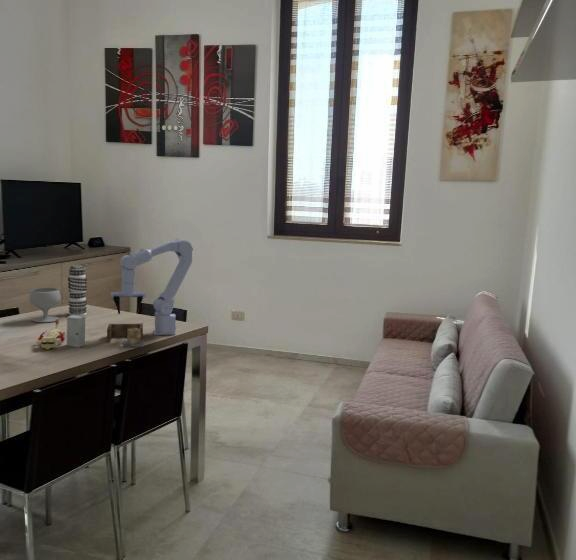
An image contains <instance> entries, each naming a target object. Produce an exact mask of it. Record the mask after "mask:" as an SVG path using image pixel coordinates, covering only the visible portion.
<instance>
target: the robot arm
mask: <svg viewBox="0 0 576 560" xmlns="http://www.w3.org/2000/svg"><path fill="white" fill-rule="evenodd" d="M193 250H194V248H193V246H192V243H191V242H190V241H188V240H187V239H186V240H185V239H181V238H176V239H172V240H169V241H167V242H165V243H162V244H160V245H158V246H155V247H152V248H151V249H148V248H142V247H141V248H139V250H138V251H135V252H130V253H129V255H128V254H125V255H123V256H122V257H120V260H119V265H120V267H121V273H120V274H121V275H120V276H121V278H120V279H121V289H120V291H115V292H113V291H112V292H110V298H111V299H112V298H113V302H114V303H115V306H116V309H117V314H118V315H120V314H121V305H120V304H121V298H136V312H135V313H136V315H137V314H139V310H140V307H141V304H142V302H143V299H144V298H146V291H145V292H143V291H141V292H140V291H139V292H138V291H136V270H135V269H136V268H137V266H140V265H142V264H145V263H148V262H150V261H151V260H152V258H153V257H156V256H158V255H162V254H164V253H167V252H174V253H175V254H176V256H177V258H178V260H179V261H178V263H177V266H176V267H175V269H174V271H173V273H172V275H171V277H170V279H169V281H168V282H167V285H166V286H165V289H164V290H163V292H161V293H160V294H159V296H158V297H157V298H156V299H155V300H153V303H152V305H153V309H154V310H155V311H154V329H153V335H154V336H158V335H159V336H160V335H161V336H163V335H165V336H167V335H176V330H177V326H176V314H175V313H172V312H173V309H174V304H175V302H176V301H175V296H176V294H177V292H178V290H179V289H180V286H181V284H182V283H183V282H184V279H185V277H186V275H187V274H188V271H189V270H190V267H191V265H192V263H193Z"/></svg>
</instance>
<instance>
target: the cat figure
mask: <svg viewBox="0 0 576 560" xmlns="http://www.w3.org/2000/svg"><path fill="white" fill-rule="evenodd" d="M59 320H60V319H59ZM59 320H58V319H56V321H55V328H54V329H53V328H52V329H51V330H50V331H49V333H48V332H47V330H45V331H43V332H42V333H40V334H39V335H40V336H39V337H38V338H37V341H36V344H37V345H40V348H42V349H43V348H44V349H45V350H50V349H52V348H55V347H57V348H58V346H59V345H61V344H62V343H64V341H66V338H65V336H64V335H65V331H64V329H59V323H60V322H59ZM45 333H48V334H47V335H46V336H44V335H45ZM58 337H59V338H60V339H57V338H58ZM57 344H58V345H57Z"/></svg>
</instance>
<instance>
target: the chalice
mask: <svg viewBox="0 0 576 560" xmlns="http://www.w3.org/2000/svg"><path fill="white" fill-rule="evenodd" d="M61 298H62V297H61V293H60V290H59V289H58V288H56V287H37V288H33V289H31V291H30V293H29V297H28V300H29V301H28V302H29V303H30V304H31V305H32V306H34V307H36V308H38V309H40V310H41V311H42V312H43V315H42V316H38V317H33V318H32V319H31V321H32V322H33V323H52V322H56V319H58V320H60V318H59V316H58V317H57V316H51V315H49V314H48V313H49V310H51V309H52V308H54V307H55V306H57V305H59V304H60V302H61V301H62V299H61Z"/></svg>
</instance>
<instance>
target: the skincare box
mask: <svg viewBox="0 0 576 560" xmlns="http://www.w3.org/2000/svg"><path fill="white" fill-rule="evenodd" d="M85 339H86V316H84V315H83V316H76V315H72V316H71V315H69V316H67V317H66V346H67V347H75V348H81V347H83V346H85V343H86V340H85ZM80 346H81V347H80Z"/></svg>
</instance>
